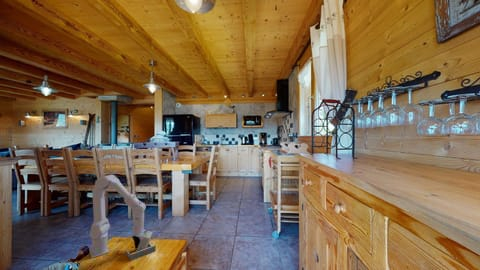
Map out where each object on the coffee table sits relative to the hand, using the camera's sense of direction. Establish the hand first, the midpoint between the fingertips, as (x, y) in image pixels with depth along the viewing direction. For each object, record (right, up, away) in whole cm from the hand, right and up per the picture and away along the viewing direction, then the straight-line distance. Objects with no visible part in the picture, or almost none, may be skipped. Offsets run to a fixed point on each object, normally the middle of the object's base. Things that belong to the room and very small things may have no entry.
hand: (137, 247), depth 109 cm
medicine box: (+3, 0, -1) cm, 3 cm away
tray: (+4, -1, -3) cm, 5 cm away
